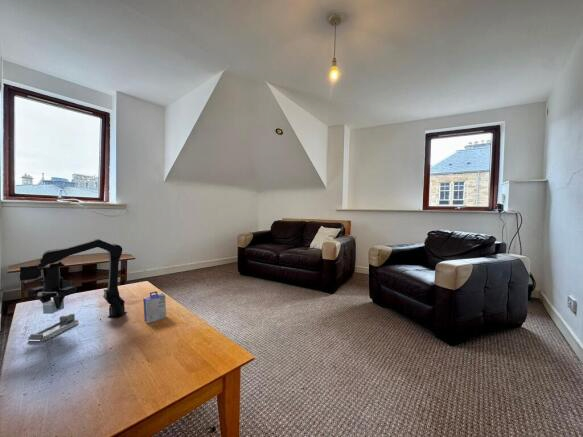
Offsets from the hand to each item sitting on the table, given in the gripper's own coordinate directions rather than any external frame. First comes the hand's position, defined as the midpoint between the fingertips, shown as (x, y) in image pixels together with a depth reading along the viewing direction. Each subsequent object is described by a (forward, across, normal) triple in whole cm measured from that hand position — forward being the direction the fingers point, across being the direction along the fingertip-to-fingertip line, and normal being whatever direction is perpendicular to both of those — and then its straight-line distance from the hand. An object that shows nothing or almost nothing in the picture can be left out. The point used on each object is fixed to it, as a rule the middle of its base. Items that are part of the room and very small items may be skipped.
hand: (53, 308), depth 119 cm
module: (+1, 0, 0) cm, 1 cm away
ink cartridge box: (+12, -41, -14) cm, 45 cm away
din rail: (+12, 0, 0) cm, 12 cm away
